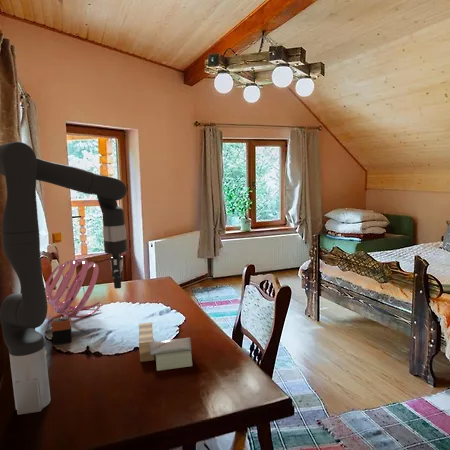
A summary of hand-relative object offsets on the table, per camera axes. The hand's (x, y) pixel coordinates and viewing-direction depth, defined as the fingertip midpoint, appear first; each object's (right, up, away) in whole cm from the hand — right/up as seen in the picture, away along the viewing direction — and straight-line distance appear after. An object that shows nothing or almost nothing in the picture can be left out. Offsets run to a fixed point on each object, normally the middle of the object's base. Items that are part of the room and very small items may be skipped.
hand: (118, 284), depth 135 cm
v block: (+19, -27, +2) cm, 33 cm away
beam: (+7, -26, +12) cm, 30 cm away
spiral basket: (-35, -23, +52) cm, 67 cm away
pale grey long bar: (+18, -22, +2) cm, 28 cm away
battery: (-28, -27, +22) cm, 45 cm away
